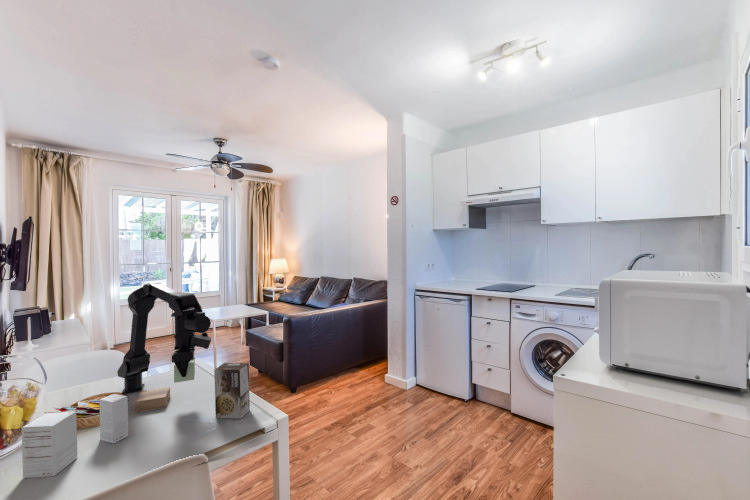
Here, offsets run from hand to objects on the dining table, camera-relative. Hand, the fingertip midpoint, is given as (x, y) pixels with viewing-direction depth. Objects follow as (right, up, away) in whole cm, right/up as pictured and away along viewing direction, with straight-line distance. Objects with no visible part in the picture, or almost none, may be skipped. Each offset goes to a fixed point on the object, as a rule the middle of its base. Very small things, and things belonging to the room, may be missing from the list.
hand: (184, 373), depth 117 cm
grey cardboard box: (+20, -11, -6) cm, 24 cm away
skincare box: (-9, -12, -20) cm, 25 cm away
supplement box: (-15, -12, -33) cm, 38 cm away
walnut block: (-12, -12, +1) cm, 17 cm away
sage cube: (0, -2, 0) cm, 2 cm away
